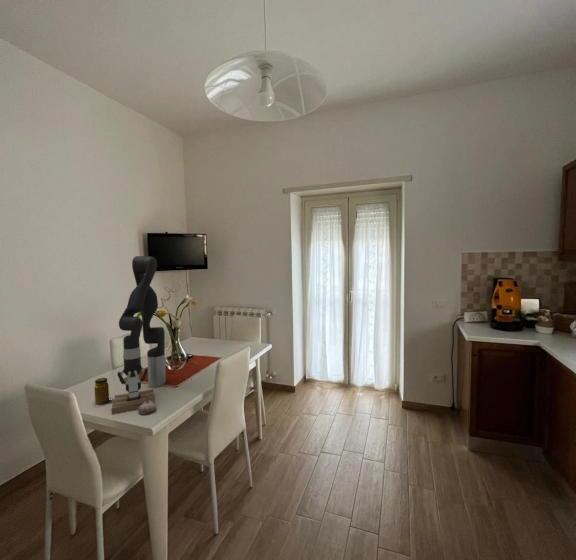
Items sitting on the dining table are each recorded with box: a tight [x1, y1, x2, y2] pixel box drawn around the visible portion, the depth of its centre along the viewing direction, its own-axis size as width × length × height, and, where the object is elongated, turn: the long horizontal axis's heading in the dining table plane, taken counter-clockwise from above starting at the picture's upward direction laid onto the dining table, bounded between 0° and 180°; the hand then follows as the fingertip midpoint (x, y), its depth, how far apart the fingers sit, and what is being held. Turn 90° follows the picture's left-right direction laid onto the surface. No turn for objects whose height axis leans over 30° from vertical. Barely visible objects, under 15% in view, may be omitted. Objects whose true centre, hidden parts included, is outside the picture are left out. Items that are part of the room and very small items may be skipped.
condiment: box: [93, 377, 114, 408], centre depth 157 cm, size 7×8×12 cm
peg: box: [128, 376, 139, 398], centre depth 154 cm, size 4×4×10 cm
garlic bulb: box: [137, 395, 157, 415], centre depth 146 cm, size 8×7×8 cm
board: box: [111, 388, 155, 415], centre depth 155 cm, size 15×18×3 cm
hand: (133, 390), depth 154 cm, fingers closed on peg, 4 cm apart
